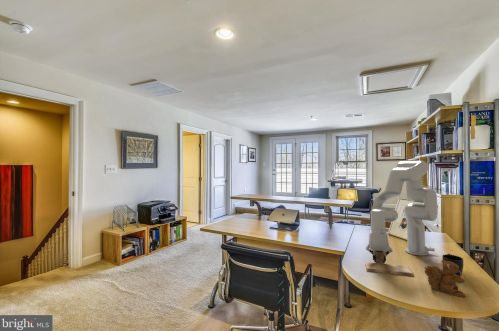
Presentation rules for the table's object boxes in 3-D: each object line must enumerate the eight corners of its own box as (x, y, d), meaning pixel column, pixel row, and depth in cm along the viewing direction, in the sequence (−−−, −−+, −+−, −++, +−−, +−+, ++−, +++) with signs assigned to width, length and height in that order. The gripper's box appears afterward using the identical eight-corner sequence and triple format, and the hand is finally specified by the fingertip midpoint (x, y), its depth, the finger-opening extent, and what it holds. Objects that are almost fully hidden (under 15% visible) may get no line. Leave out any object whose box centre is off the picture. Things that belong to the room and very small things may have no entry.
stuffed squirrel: (467, 298, 103) (466, 267, 103) (427, 291, 110) (426, 262, 110) (460, 287, 112) (459, 259, 112) (423, 281, 119) (422, 255, 119)
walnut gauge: (382, 261, 142) (382, 250, 142) (386, 269, 132) (385, 256, 132) (375, 261, 143) (374, 249, 143) (377, 268, 134) (377, 256, 134)
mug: (459, 271, 128) (459, 253, 128) (465, 281, 118) (465, 261, 118) (440, 268, 132) (439, 251, 132) (444, 277, 122) (443, 258, 122)
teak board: (409, 268, 133) (408, 266, 133) (413, 276, 125) (413, 273, 125) (365, 264, 141) (365, 261, 141) (367, 271, 132) (366, 268, 132)
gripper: (393, 229, 141) (394, 260, 141) (361, 228, 147) (362, 258, 147) (396, 233, 134) (397, 266, 134) (363, 231, 140) (364, 263, 140)
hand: (379, 261), depth 141 cm, fingers closed on walnut gauge, 4 cm apart
